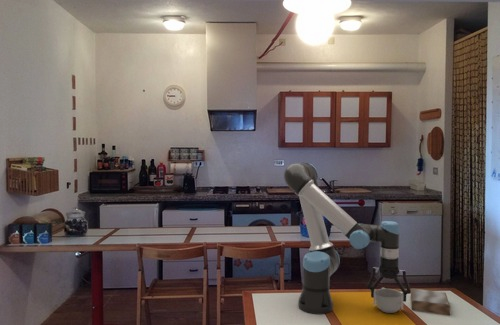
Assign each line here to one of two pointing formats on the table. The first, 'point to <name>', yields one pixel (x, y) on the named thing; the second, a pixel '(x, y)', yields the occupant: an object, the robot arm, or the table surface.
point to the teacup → (388, 300)
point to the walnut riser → (430, 301)
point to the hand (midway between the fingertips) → (388, 306)
